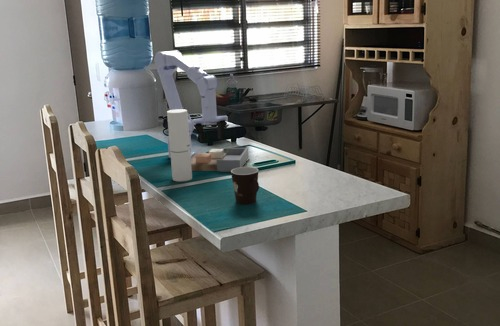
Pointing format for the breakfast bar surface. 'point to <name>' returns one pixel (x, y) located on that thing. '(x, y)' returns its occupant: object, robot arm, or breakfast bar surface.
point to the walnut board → (204, 164)
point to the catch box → (232, 159)
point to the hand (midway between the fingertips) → (211, 140)
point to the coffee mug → (245, 184)
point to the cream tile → (217, 153)
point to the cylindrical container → (179, 144)
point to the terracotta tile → (203, 158)
